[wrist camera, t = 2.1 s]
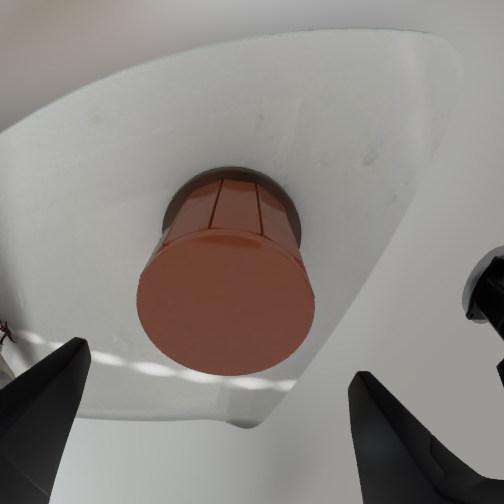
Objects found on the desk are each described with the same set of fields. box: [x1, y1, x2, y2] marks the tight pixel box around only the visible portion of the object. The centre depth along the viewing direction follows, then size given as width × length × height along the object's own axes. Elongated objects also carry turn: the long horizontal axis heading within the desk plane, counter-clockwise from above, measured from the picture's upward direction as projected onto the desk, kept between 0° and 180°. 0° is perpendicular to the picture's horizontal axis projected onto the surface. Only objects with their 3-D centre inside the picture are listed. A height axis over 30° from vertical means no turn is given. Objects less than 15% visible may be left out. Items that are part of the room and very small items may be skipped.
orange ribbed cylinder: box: [136, 179, 315, 376], centre depth 15 cm, size 7×7×7 cm
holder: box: [162, 167, 301, 248], centre depth 16 cm, size 8×8×6 cm
